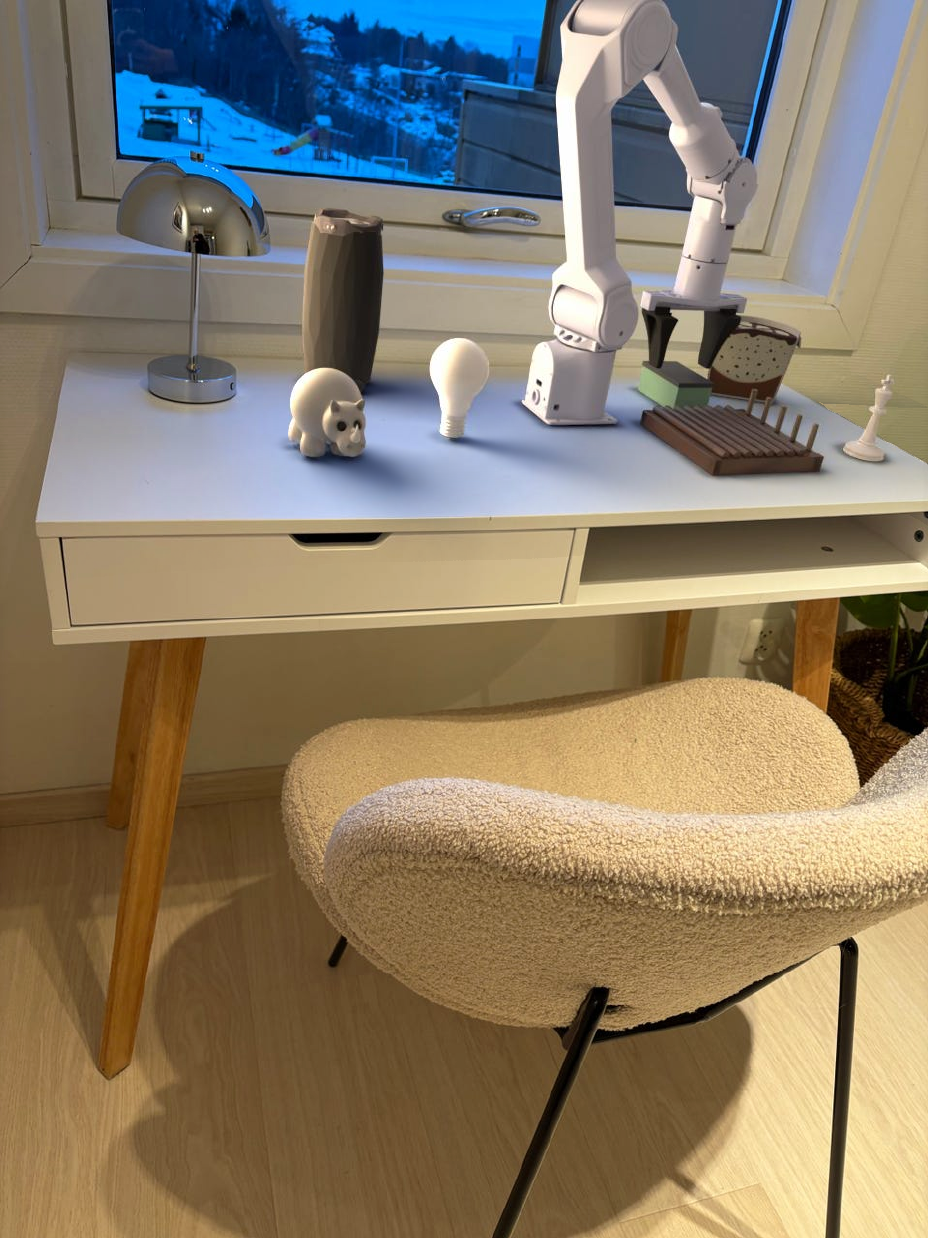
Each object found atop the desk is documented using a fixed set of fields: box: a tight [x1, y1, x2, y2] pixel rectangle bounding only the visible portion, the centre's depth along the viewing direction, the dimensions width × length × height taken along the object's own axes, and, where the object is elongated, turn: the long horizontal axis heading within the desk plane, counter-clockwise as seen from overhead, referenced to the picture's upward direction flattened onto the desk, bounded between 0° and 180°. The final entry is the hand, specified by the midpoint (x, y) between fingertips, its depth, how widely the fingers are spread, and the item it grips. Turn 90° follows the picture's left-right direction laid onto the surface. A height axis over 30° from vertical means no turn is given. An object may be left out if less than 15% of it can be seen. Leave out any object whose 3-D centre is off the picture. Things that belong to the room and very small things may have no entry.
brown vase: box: [301, 207, 385, 393], centre depth 118 cm, size 9×9×20 cm
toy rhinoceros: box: [288, 368, 367, 458], centre depth 100 cm, size 7×12×8 cm, turn 25°
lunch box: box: [637, 360, 714, 408], centre depth 133 cm, size 5×9×4 cm, turn 21°
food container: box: [706, 314, 802, 405], centre depth 140 cm, size 12×6×10 cm, turn 84°
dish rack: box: [639, 389, 825, 476], centre depth 120 cm, size 15×16×5 cm
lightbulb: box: [429, 337, 490, 440], centre depth 109 cm, size 6×6×11 cm
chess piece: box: [842, 374, 896, 462], centre depth 123 cm, size 5×5×10 cm
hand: (679, 366), depth 132 cm, fingers open, 7 cm apart
